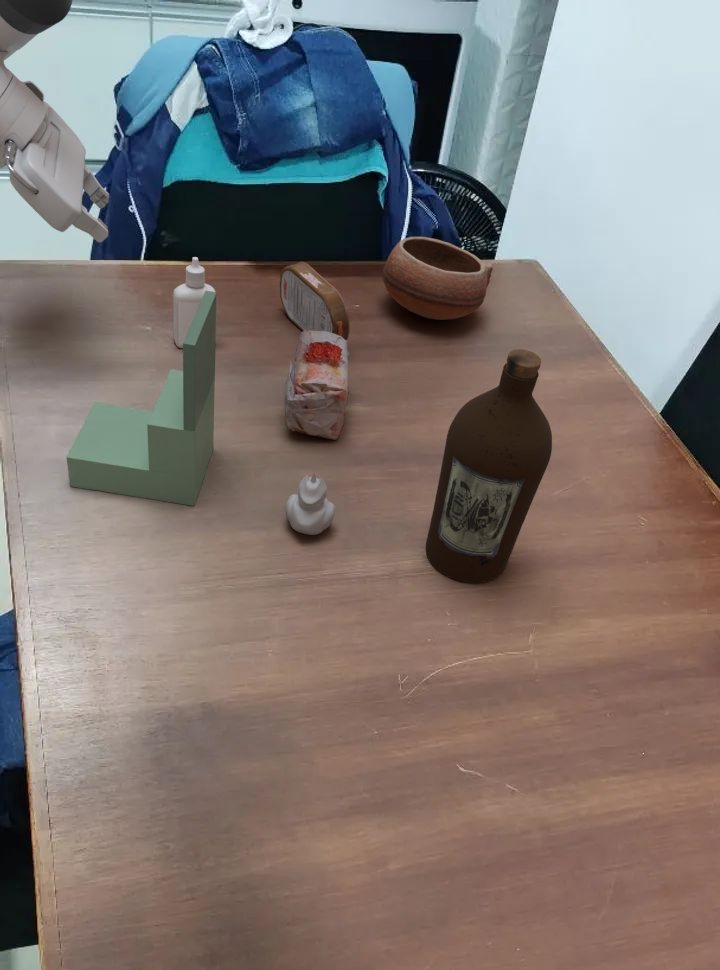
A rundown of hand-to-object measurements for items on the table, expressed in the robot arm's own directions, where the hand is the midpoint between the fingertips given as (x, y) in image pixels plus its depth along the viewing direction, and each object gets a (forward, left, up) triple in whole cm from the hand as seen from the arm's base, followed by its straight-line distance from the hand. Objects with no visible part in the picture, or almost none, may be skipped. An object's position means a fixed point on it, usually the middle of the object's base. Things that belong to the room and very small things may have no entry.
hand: (105, 219), depth 112 cm
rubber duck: (+31, -32, -16) cm, 47 cm away
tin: (+26, +10, -16) cm, 32 cm away
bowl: (+43, +22, -16) cm, 51 cm away
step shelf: (+11, -27, -16) cm, 33 cm away
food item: (+29, -10, -16) cm, 34 cm away
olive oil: (+49, -33, -16) cm, 61 cm away
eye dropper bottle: (+11, +2, -16) cm, 19 cm away
